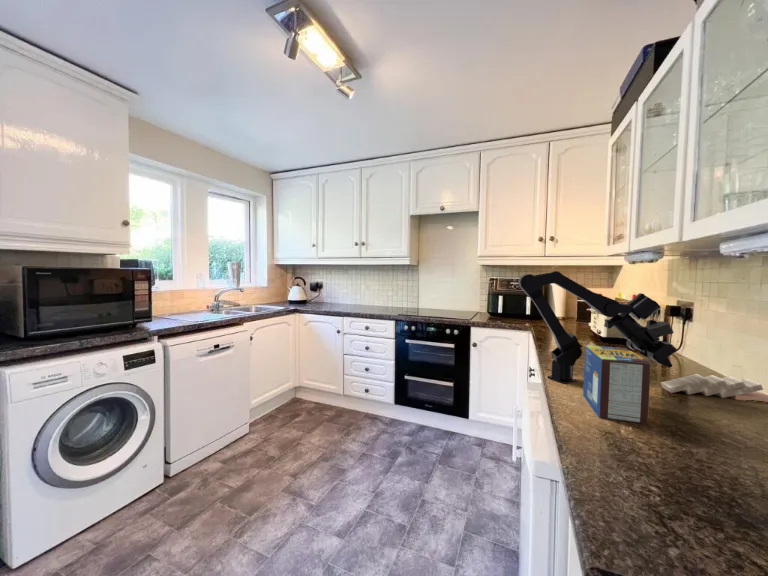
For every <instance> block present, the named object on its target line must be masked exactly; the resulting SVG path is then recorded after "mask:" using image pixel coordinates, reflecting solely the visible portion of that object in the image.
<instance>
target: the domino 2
mask: <svg viewBox="0 0 768 576" xmlns="http://www.w3.org/2000/svg"><path fill="white" fill-rule="evenodd" d="M704 377H705V378H707V379H708V381H709V383H710V384H708V385H704V386H699V387H695V388H691V389H687V390H682V391H681V392H683V393H685V394H686V395H693V394H697V393H699V392H702V391H706V390H710V389H715V388H719V387H723V386H727V384H726V382H725V380H723V379H721V378H722V377H718V376H716V375H713V374H712V375H707V376H704Z"/></svg>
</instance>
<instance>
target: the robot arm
mask: <svg viewBox="0 0 768 576" xmlns="http://www.w3.org/2000/svg"><path fill="white" fill-rule="evenodd" d="M517 283H518V284H517V285H518V287H519V288H520V289H521V290H522V291H523V292H524V293H525V294H526V296H527V297H529V299H530V300H531V301H532V302H533V304H534V305H535V307H536V308H537V310H538V312H539V314H540V315H541V317H542V319H543V320H544V322H545V323H546V325H547V327H548V328H549V330H550V332H551V334H552V336H553V338H554V342H555V344H556V347H555V348H554V349H553V350H552V351H550V355H551V357H552V359H553V360H552V361H551V375H547V378H548V379H550V380H553V381H556V382H559V383H561V384H568V383H573V382H577V379H576V378H574V366H575V364H576V362H577V360H579V359H580V358H581V357H582V354H583V350H582V348H583V346H582V344H580V342H579V341H578V338H577V335H575V334H573V333H572V332H569V333H568V332H567V331H566V329H565V328H564V327H563V325H562V322H561V321H560V320H559V318H558V317H557V315H556V313H555V312H554V311H553V308H552V307H551V305H550V304H549V302H548V300H547V299H546V297H545V295H544V292H543V288H542V287H543V286H547V285H550V284H551V285H552V284H555V285H556V286H558V287H560V288H562V289H563V290H565V291H567V292H568V293H570V294H572V295H573V296H575V297H577V298H579V299H581V300H582V301H584V302H585V304H587V305H588V307H590V308H591V309H592V310H594V311H595V312H596V313H597V314H600V315H601V316H605V317H607V318H609V319H607V318H605V319H604V323H603V324H604V325H603V326H604V328H606V329H609V330H610V329H612V328H613V327H614V328H615V329H616V330H617V331H618V332H619V333H620V334H622V338H624V339H626V343H625V344H626V346H627V347H628V349H629V350H630V349H631V350H632V351H635V350H636V349H637V350H639V351H640V352H639V355H640V356H641V355H642V356H643V357H645V358H648V359H650V360H651V361H653V362H656V363H657V364H660V365H662V366H664V367H667V368H669V369H670V368H672V367H673V364H672V363H671V361H670V359H669V357H670V356H672V355H673V354H674V353H676V352H677V351H678V348H676V347H675V346H674V344H671V343H669V342H667V341H660V340H661V337H663V336H668V335H672V334H674V330H673V328H672V326H671V324H670V323H669V322H666V321H661V320H660V321H659V320H658V321H656V320H654V319H649V317H651V316H652V315H653V314H655V313H656V312H657V311H658V310H660V309H661V306H660V304H659V302H657V301H656V300H654V299H652V298H650V297H649V296H647V295H645V293H642V292H641V293H640V292H639V293H638V294H636V296H635V297H634V298H632V299H631V300H630V301H628V302H627V303H624V302H619V301H618V300H616V299H613V298H610V297H608V296H605V295H602V294H599V293H596V292H594V291H592V290H590V289H588V288H586V287H585V286H583V285H582V284H580V283H578V282H576V281H574V280H573V279H571V278H569V277H567V276H565V275H564V274H563V273H561V272H560V271H556V270H552V271H550V272H546V273H545V272H544V273H540V274H536V275H534V274H529V273H526V274H523V275H522V274H521V276H520V277H519V278H518V282H517ZM640 319H641V320H643V321H645V320H646V319H649V320H646V325H645V326H642V325H641V324H640V323H639V322H638V321H637V320H640Z"/></svg>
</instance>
